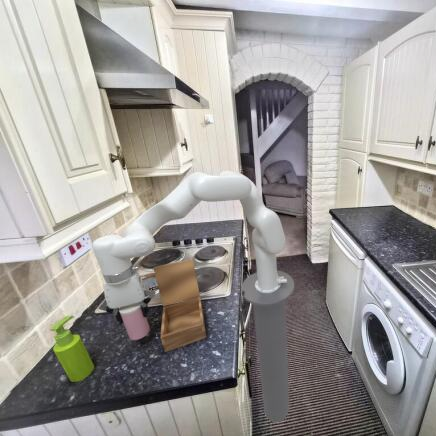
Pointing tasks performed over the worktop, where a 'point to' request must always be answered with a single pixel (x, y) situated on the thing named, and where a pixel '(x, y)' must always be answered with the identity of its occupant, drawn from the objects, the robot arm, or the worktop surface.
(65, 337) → the soap dispenser
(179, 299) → the lid
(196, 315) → the chest
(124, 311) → the tube
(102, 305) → the robot arm
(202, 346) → the worktop surface
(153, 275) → the tin
